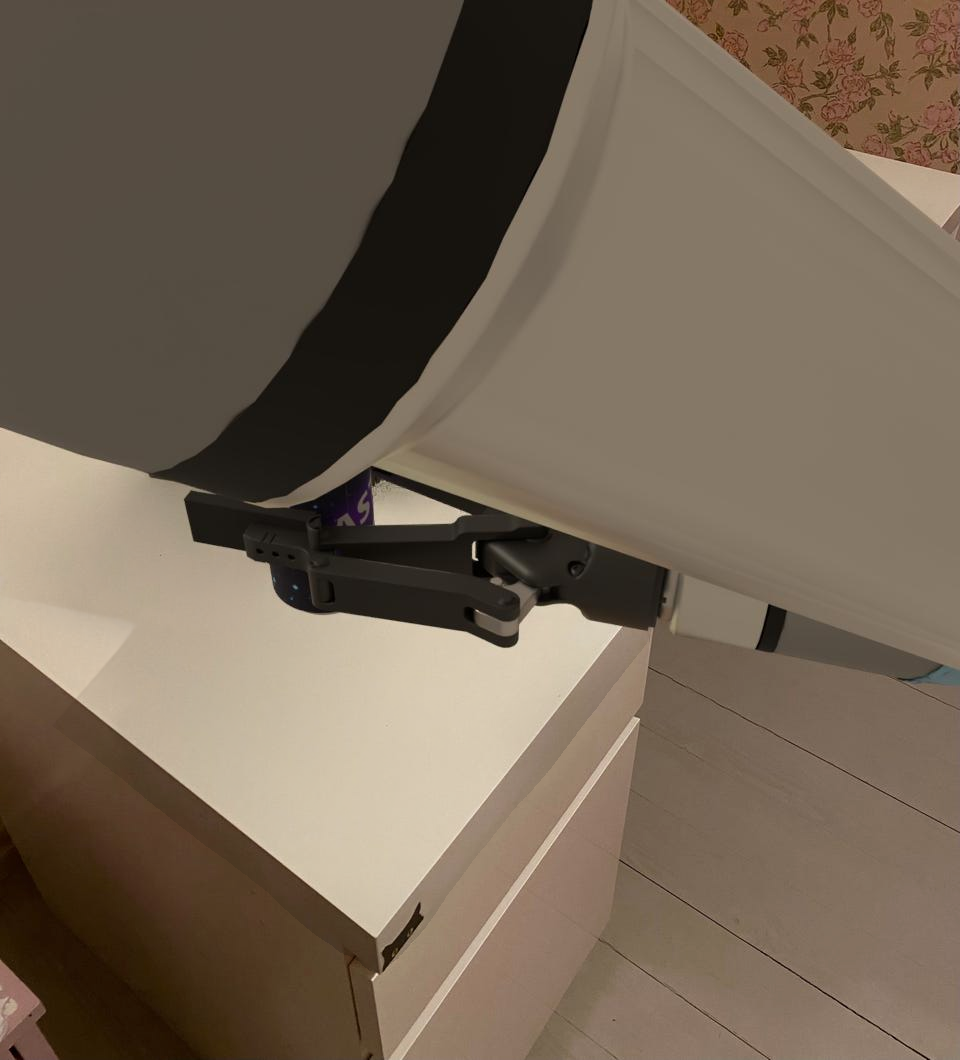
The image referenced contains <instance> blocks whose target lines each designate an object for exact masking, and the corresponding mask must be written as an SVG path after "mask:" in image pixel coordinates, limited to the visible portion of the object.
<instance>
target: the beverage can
mask: <svg viewBox="0 0 960 1060" xmlns="http://www.w3.org/2000/svg"><path fill="white" fill-rule="evenodd" d="M373 495H374V494H373V486H372V483H371V470H370V467H368V468H367V469H365V470H364V471H362V472H361V473H359V474H358V475H356V476H354V477H353V478H351V479H350V480H348V481H347V482H345V483H343V484H342V485H340V486H338V487H336V488H334V489H332V490H331V491H329V492H327V493H325V494H323V495H321V496H320V497H318V498H316V499H314V500H311V501H307V502H304V503H300V504H297V505H293V506H290V507H287V508H293V509H302V510H308V511H314V512H317V514H321V523H322V526H355V525H376V521H375V511H374V510H375V509H374V496H373ZM336 556H342V554H341V552H339V551H336ZM269 571H270V576H271V582H272V586H273V590H274V592H275V594H276V595H277V597H278V598H279V600H281V601H282V602H283V603H284V604H286V605H287V606H288V607H290V608H293V609H294V610H298V611H301V612H304V613H308V614H311V615H316V616H330V615H336V614H340V612H333V611H327V610H321V609H318V608H316V607H315V606H314V605H313V603H312V597H311V590H310V583H309V575H308V572H306V571H304V570H300V569H294V568H289V567H284V566H278V565H275V564H269Z"/></svg>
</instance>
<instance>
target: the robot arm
mask: <svg viewBox="0 0 960 1060" xmlns="http://www.w3.org/2000/svg"><path fill="white" fill-rule="evenodd" d="M0 428H1V429H4V430H7V431H10V432H12V433H16V434H18V435H20V436H21V435H22V436H24V437H27V438H30V439H33V440H36V441H38V442H42V443H45V444H47V445H50V446H53V447H56V448H59V449H61V450H65V451H67V452H71V453H74V454H76V455H79V456H82V457H86V458H90V459H94V460H97V461H102V462H105V463H109V464H112V465H117V466H120V467H125V468H129V469H132V470H136V471H139V472H141V473H145V474H148V475H149V474H152V475H155V476H158V477H162V478H165V479H168V480H167V481H170V482H171V481H172V482H175V483H179V484H182V485H185V486H188V487H191V488H195V489H199V491H198V490H192V489H190V490H189V492H188V493H187V494H186V496H185V497H184V499H183V503H184V507H185V511H186V516H187V520H188V525H189V529H190V533H191V537H192V542H193V543H198V544H203V545H209V546H214V547H215V546H216V547H220V548H221V547H222V548H226V549H231V550H236V551H240V552H241V551H242V552H245V553H246V557H247V558H249V559H250V560H252V561H253V562H257V563H262V564H275V565H278V566H284V567H289V568H294V569H300V570H304V571H306V572H308V575H309V583H310V590H311V597H312V603H313V605H314V606H315V607H316V608H318V609H321V610H327V611H333V612H340V613H341V614H346V615H354V616H359V617H367V618H373V619H379V620H386V621H393V622H400V623H406V624H413V625H419V626H425V627H430V628H431V627H432V628H436V629H444V630H449V631H450V630H451V631H458V632H464V633H468V634H470V635H472V636H474V637H476V638H479V639H481V640H483V641H485V642H487V643H490V644H491V645H494V646H496V647H498V648H502V649H511V648H512V647H514V646H516V645H517V644H518V642H519V638H520V637H519V636H520V625H521V623H522V622H523V621H524V620H525V618H526V617H527V616H528V615H529V613H530V612H531V611H532V610H533V608H535V607H547V606H552V605H570V606H573V607H575V608H576V609H578V610H579V611H580V613H581V615H582V616H583V617H584V618H585V619H586V620H587V621H592V622H595V623H596V622H597V623H601V624H607V625H612V626H619V627H622V628H623V627H624V628H629V629H635V630H641V631H645V632H649V628H652V629H653V628H656V627H657V620H660V621H665V622H669V628H668V630H669V631H670V632H671V634H672V635H673V636H678V637H683V638H688V639H693V640H699V641H703V642H708V643H710V642H711V643H714V644H721V645H726V646H731V647H736V648H742V649H748V650H751V651H760V652H763V653H768V654H770V653H771V654H777V655H781V656H785V657H790V658H796V659H800V660H806V661H809V662H816V663H822V664H825V665H831V666H835V667H841V668H845V669H849V670H850V669H851V670H855V671H859V672H865V673H870V674H876V675H879V676H885V677H890V678H894V679H896V681H901V682H903V683H908V684H912V685H913V684H914V685H919V684H932V685H942V686H949V687H959V688H960V241H958V240H957V239H956V238H955V237H953V235H951V234H950V233H948V231H946V230H945V229H944V228H943V227H941V226H940V225H939V224H937V223H936V222H935V221H934V220H933V219H932V218H930V217H929V216H928V215H927V214H926V213H924V212H923V211H922V210H921V209H920V208H918V207H917V206H916V205H915V204H913V203H912V202H911V201H910V200H909V199H907V198H906V197H905V196H904V195H902V194H901V193H900V192H899V191H898V190H896V189H895V188H894V187H892V185H890V184H889V183H888V182H887V181H886V180H884V179H883V178H882V177H880V176H879V175H878V174H877V173H876V172H875V171H873V170H872V169H871V168H870V167H868V165H866V164H864V163H863V162H862V161H861V160H860V159H859V158H857V157H856V156H855V155H853V154H852V153H851V152H850V151H849V150H847V148H845V147H844V146H843V145H841V144H840V143H839V142H838V141H837V140H835V139H834V138H833V137H832V136H831V135H830V134H828V133H827V132H826V131H824V130H823V129H822V128H821V127H820V126H818V125H817V123H815V122H813V121H812V120H811V119H810V118H809V117H807V116H806V115H805V114H804V113H802V112H801V111H800V110H799V109H798V108H796V107H795V106H794V105H793V104H792V103H790V101H788V100H787V99H786V98H784V97H783V96H782V95H780V94H779V93H778V92H777V91H775V90H774V89H773V88H772V87H771V86H770V85H768V84H767V83H766V82H765V81H764V80H762V79H761V78H760V77H758V76H757V75H756V74H755V73H754V72H752V71H751V70H750V69H749V68H747V67H746V65H744V64H743V63H741V61H739V60H738V59H736V58H735V57H734V56H733V55H732V54H730V53H729V52H728V51H727V50H725V49H724V48H723V47H722V46H721V45H719V44H718V43H717V42H716V41H715V40H714V39H712V37H710V36H708V35H707V34H706V33H705V32H703V30H701V29H700V28H699V27H698V26H696V25H695V24H694V23H692V22H691V20H689V19H688V18H686V17H685V15H683V14H682V13H681V12H679V11H678V9H676V8H675V7H674V6H672V5H671V4H669V3H668V2H667V1H666V0H0ZM368 467H370V470H371V483H372V488H375V487H376V485H378V484H380V482H382V481H385V482H388V483H390V484H392V485H395V486H397V487H401V488H403V489H405V490H408V491H410V492H413V493H416V494H418V495H420V496H423V497H426V498H428V499H431V500H434V501H436V502H438V503H441V504H443V505H446V506H448V507H452V508H453V509H457V510H459V511H462V512H464V513H466V514H465V515H461V516H459V517H458V518H456V520H454V522H451V523H418V524H417V523H412V524H411V523H410V524H408V523H407V524H375V525H355V526H322V523H321V514H317V512H314V511H308V510H302V509H293V508H287V507H290V506H293V505H297V504H300V503H304V502H307V501H311V500H314V499H316V498H318V497H320V496H321V495H323V494H325V493H327V492H329V491H331V490H332V489H334V488H336V487H338V486H340V485H342V484H343V483H345V482H347V481H348V480H350V479H351V478H353V477H354V476H356V475H358V474H359V473H361V472H362V471H364V470H365V469H367V468H368ZM165 479H164V480H165ZM200 490H201V491H200ZM473 544H474V558H473ZM336 551H339V552H341V554H342V556H336ZM476 559H477V560H476ZM340 613H339V614H340Z"/></svg>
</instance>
